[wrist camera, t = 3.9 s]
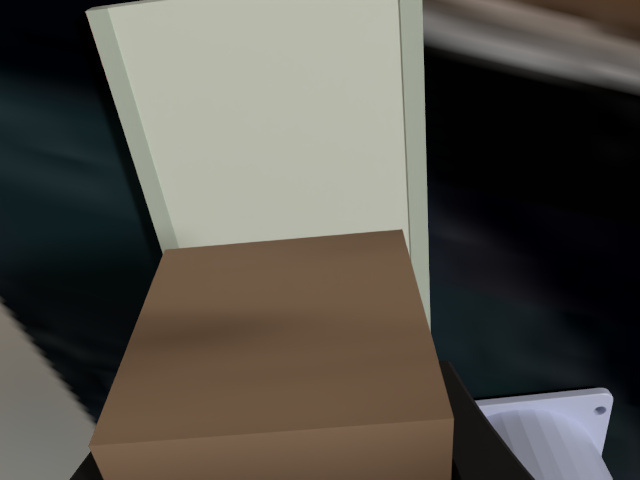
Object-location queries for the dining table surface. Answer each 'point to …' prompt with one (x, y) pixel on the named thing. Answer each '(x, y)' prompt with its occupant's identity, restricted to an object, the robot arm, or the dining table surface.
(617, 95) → the dining table surface
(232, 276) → the walnut cube
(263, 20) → the cream tray
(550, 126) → the dining table surface
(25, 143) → the dining table surface
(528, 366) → the dining table surface
